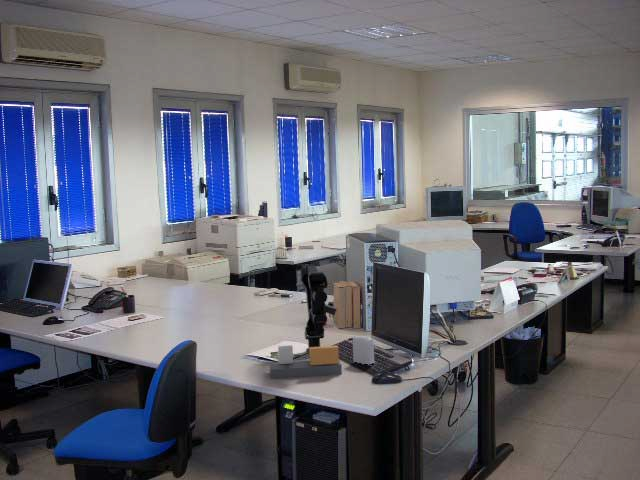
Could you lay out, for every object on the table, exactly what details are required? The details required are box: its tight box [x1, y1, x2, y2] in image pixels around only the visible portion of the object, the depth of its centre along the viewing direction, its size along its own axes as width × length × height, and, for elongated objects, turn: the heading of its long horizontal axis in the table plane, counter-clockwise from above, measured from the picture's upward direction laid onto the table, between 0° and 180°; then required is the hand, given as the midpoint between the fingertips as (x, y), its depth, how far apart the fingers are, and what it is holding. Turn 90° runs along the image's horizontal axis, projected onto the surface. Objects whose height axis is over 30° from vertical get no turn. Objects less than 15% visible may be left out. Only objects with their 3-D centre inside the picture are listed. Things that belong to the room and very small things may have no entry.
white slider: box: [277, 345, 294, 364], centre depth 294 cm, size 3×6×7 cm, turn 97°
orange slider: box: [308, 345, 340, 365], centre depth 291 cm, size 3×12×7 cm, turn 97°
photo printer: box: [352, 335, 375, 366], centre depth 304 cm, size 10×4×12 cm, turn 47°
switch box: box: [268, 359, 343, 380], centre depth 293 cm, size 10×30×4 cm, turn 97°
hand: (318, 333), depth 314 cm, fingers open, 9 cm apart
